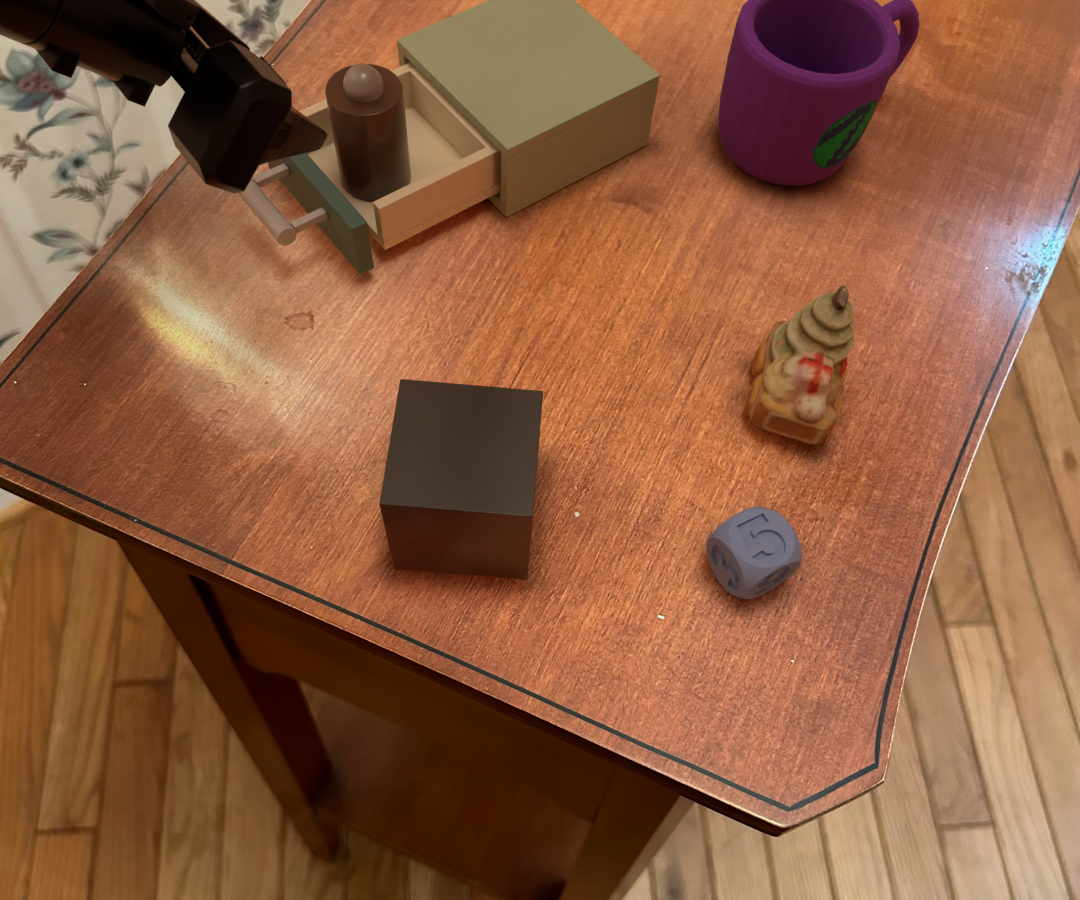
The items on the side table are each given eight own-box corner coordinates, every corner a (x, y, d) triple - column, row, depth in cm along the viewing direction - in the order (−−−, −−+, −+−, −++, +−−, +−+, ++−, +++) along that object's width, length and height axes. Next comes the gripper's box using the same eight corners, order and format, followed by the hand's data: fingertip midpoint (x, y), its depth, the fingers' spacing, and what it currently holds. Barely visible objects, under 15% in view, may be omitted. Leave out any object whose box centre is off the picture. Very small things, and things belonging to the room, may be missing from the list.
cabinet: (506, 217, 69) (507, 149, 64) (403, 111, 74) (396, 39, 68) (647, 144, 73) (660, 74, 68) (542, 47, 78) (546, -25, 72)
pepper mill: (353, 210, 66) (335, 102, 58) (331, 162, 68) (311, 52, 60) (420, 191, 67) (411, 84, 59) (397, 145, 69) (385, 35, 61)
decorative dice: (753, 527, 58) (770, 496, 55) (790, 580, 57) (810, 551, 53) (699, 554, 57) (713, 523, 54) (736, 608, 56) (752, 580, 52)
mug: (773, 220, 70) (814, 104, 61) (679, 128, 74) (704, 7, 65) (937, 135, 75) (997, 16, 66) (840, 54, 79) (885, -69, 70)
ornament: (833, 459, 61) (893, 363, 52) (739, 443, 61) (782, 345, 52) (837, 361, 64) (893, 256, 56) (748, 346, 65) (789, 240, 56)
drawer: (310, 301, 64) (299, 255, 60) (220, 190, 68) (204, 140, 64) (506, 200, 69) (507, 152, 65) (412, 103, 73) (407, 52, 69)
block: (393, 568, 56) (379, 504, 49) (411, 454, 60) (400, 378, 52) (527, 580, 56) (533, 516, 49) (537, 465, 60) (543, 390, 52)
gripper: (206, -84, 38) (443, 64, 51) (14, -284, 44) (270, -107, 58) (94, 152, 43) (338, 232, 56) (-66, -60, 49) (188, 57, 62)
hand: (283, 96), depth 58 cm, fingers open, 9 cm apart
